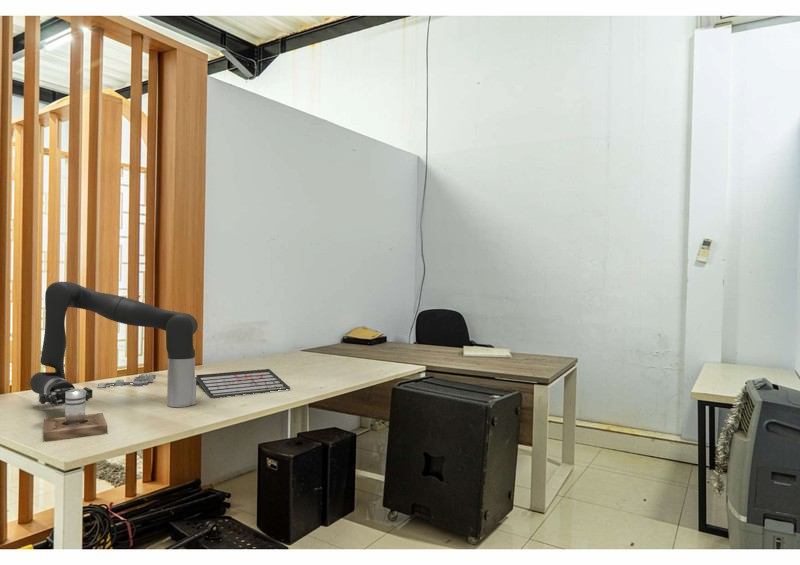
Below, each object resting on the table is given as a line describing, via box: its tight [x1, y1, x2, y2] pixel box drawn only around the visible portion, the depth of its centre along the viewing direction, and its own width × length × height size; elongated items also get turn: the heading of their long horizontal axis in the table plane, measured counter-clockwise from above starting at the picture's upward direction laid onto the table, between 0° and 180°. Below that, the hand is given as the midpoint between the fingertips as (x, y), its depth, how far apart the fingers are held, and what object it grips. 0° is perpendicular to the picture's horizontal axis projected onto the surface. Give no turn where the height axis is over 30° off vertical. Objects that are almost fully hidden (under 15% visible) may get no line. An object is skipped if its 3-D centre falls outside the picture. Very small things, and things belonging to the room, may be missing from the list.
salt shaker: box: [64, 388, 87, 425], centre depth 165 cm, size 5×5×12 cm
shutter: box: [195, 368, 291, 399], centre depth 230 cm, size 32×7×31 cm
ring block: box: [43, 412, 108, 442], centre depth 165 cm, size 16×16×2 cm
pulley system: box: [96, 373, 156, 389], centre depth 231 cm, size 27×5×15 cm
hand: (71, 399), depth 168 cm, fingers open, 8 cm apart
